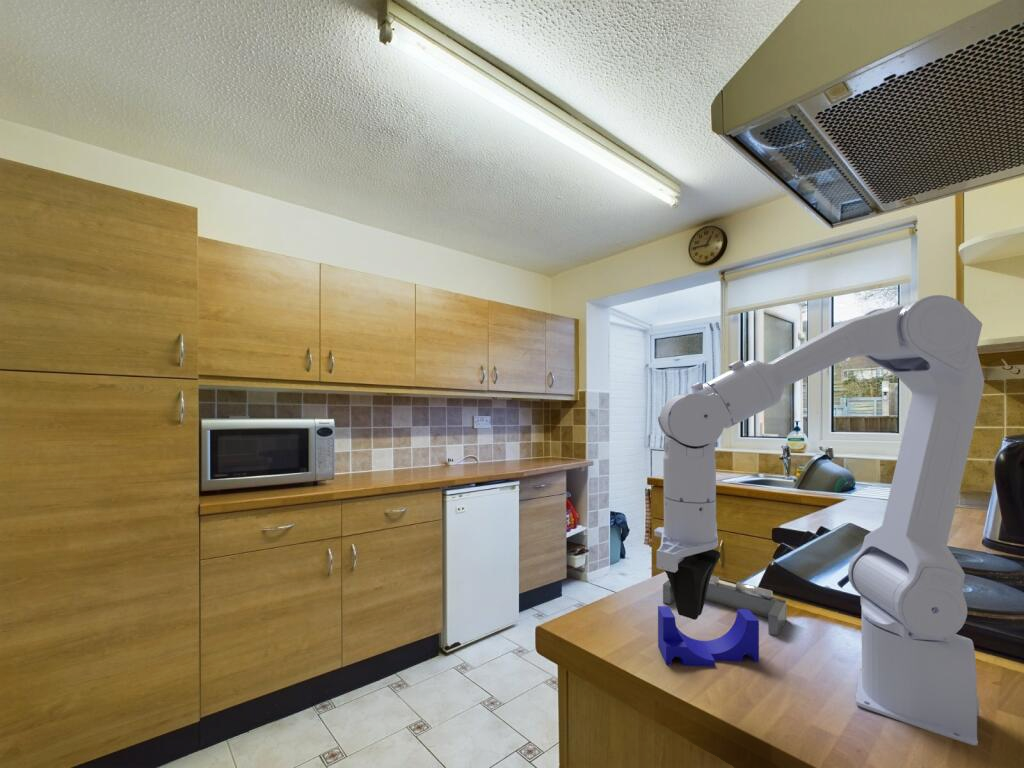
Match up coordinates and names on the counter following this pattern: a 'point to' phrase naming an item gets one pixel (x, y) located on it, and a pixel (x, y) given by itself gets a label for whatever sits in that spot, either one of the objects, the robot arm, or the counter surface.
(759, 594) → the hinge bracket
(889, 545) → the robot arm
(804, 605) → the counter surface
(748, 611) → the blue pipe saddle
